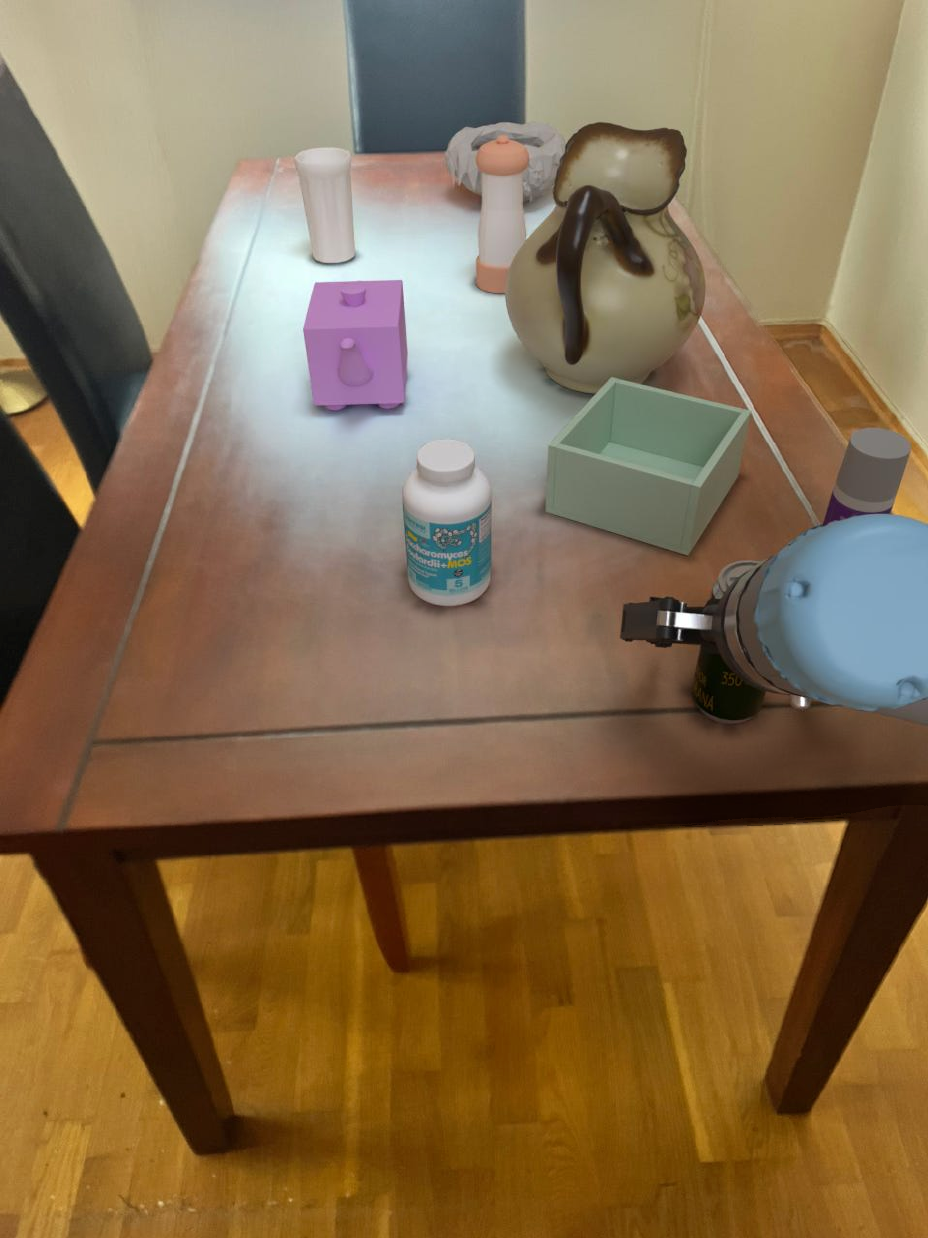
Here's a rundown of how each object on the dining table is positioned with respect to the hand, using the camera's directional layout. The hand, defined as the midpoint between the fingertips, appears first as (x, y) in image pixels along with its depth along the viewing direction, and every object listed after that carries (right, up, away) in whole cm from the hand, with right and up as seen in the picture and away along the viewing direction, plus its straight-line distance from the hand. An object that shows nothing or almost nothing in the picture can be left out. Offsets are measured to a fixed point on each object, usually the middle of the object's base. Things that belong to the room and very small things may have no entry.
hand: (732, 637), depth 71 cm
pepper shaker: (-15, +49, +60) cm, 79 cm away
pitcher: (-4, +31, +40) cm, 51 cm away
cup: (-40, +56, +68) cm, 97 cm away
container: (+12, +4, +10) cm, 16 cm away
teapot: (-32, +27, +37) cm, 56 cm away
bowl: (-13, +73, +86) cm, 114 cm away
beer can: (0, -5, +1) cm, 5 cm away
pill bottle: (-22, +5, +12) cm, 25 cm away
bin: (-3, +14, +21) cm, 25 cm away
